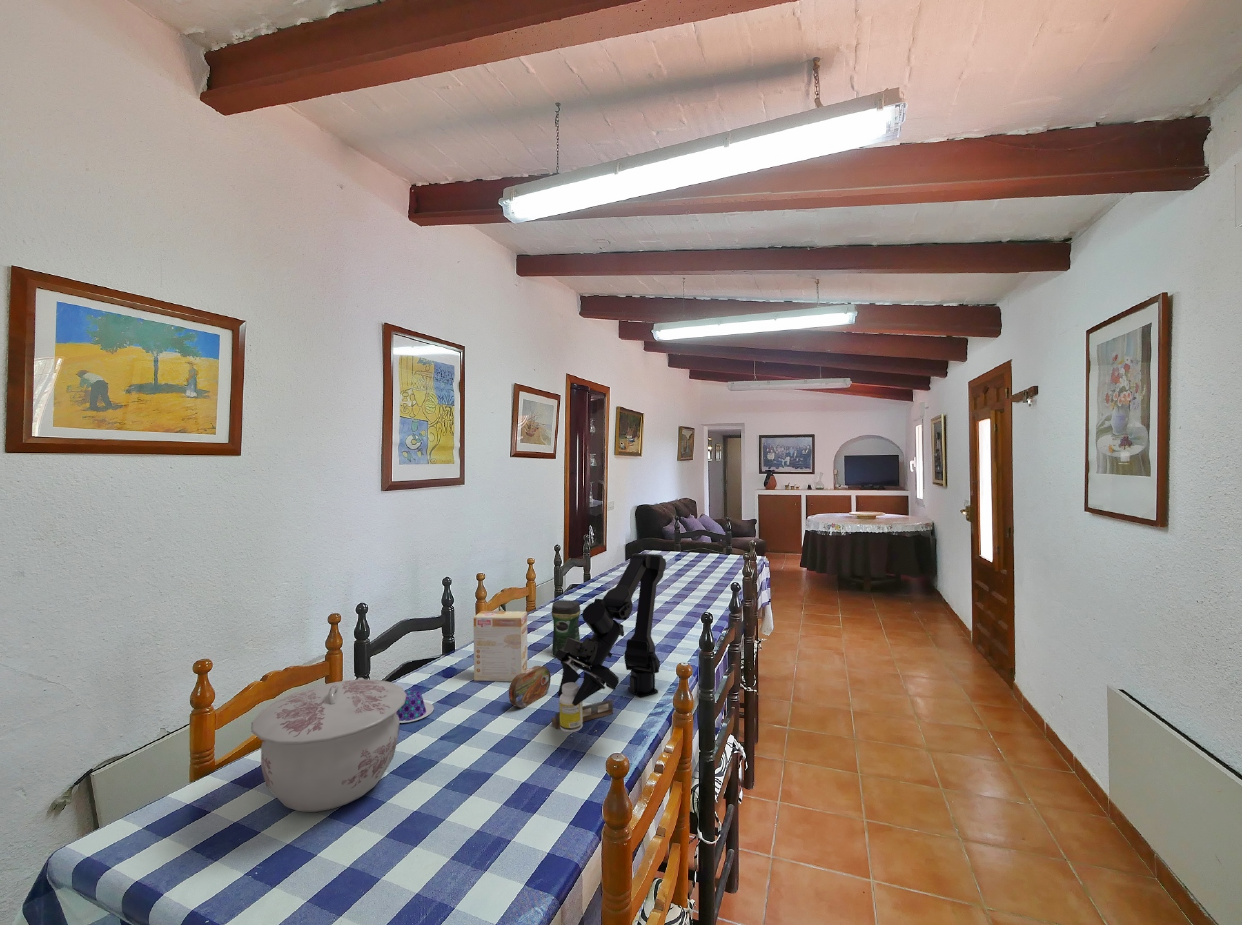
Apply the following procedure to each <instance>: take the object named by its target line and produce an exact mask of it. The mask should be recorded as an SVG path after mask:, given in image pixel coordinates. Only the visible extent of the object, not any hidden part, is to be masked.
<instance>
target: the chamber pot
mask: <svg viewBox="0 0 1242 925" xmlns="http://www.w3.org/2000/svg"><path fill="white" fill-rule="evenodd" d="M405 692H406V691H405V689H404V688H403V687H402V686H400V685H398V684H396V683H394V682H393V681H392V682H391V681H387V680H381V679H365V678H363V677H358V678H357V679H353V680H351V679H350V680H340V681H335V682H330V683H325V684H320V685H316V686H311V687H309V688H306V689H303V690H300V691H299V690H298V691H297V692H294V693H291V694H289V695H287V696H285V697H283V698H280V699H278V700H276V701H274V702H272V703H271V704H270V705H268V706H266V707H265V708H263V709H262V710H261V711H260V712H259V713H258V714H257V716H256V717H255V718H254V719H253V720H252V721H251V726H250V727H251V729H250V730H251V731H250V732H251V733H252V734H253V735H254V736H256V737H257V738H258V739H259V740H261V741H262V743H261V745H260V762H261V763H260V766H261V767H260V768H261V771H262V776H263V780H264V782H265V787H266V788H268V790H269V791H270V792H271V793H272V794H273V795H274V797H276V799H278V801H280V802H281V803H282V804H283V806H285V807H286V808H288V809H290V810H293V811H298V812H300V813H301V812H302V813H316V812H322V811H329V810H333V809H336V808H338V807H342V806H344V805H345V806H346V805H348V804H349V803H352V802H353V801H355V800H358V799H360V798H361V797H363V796H364V795H366V794H367V793H368V792H370V791H371V790H372V789H373V788H374V787H375V786H376V785H377V784H378V782H380V780H381V779H382V778H383V776H384V774H385V773H386V771H387V770H388V767H389V766H390V764H391V762H392V761H393V759H394V756H395V753H396V752H395V751H396V748H397V743H398V739H399V733H400V723H399V717H398V715H397V713H396V712H397V711H398V710H399V709H400V708H401V707H402V706H403V705H404V704H405V700H406V696H407V695H406V693H405Z"/></svg>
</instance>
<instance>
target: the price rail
mask: <svg viewBox="0 0 1242 925" xmlns="http://www.w3.org/2000/svg"><path fill="white" fill-rule="evenodd" d="M582 707H583V723H584V722H587V721H591V720H595V719H598V718H602V717H606V716H609V715H612V714H614V699H613V698H610V699H607V700H606V699H605V700H602V701H599V702H595V703H591V704H587V705H582ZM551 725H552V727H554V729H555V730H558V729H559V730H560V729H561V728H560V711H559V712H557V713H555V714H554V717H551Z"/></svg>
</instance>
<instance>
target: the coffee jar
mask: <svg viewBox="0 0 1242 925" xmlns="http://www.w3.org/2000/svg"><path fill="white" fill-rule="evenodd" d="M580 616H581V606H580V602H579V601H577V600H564V599H563V600H560V599H558V600H556V601H554V602H553V603H552V606H551V617H552V622H553V629H552V630H553V632H552V646H551V656H553V657H555V655H556V653H557V652H558V650H559V649H562V648H564V646H565V643H566V640H567V637H568V638H572V639H575V640H579V641H581V637H580V636H581V635H580V626H579V625H580V624H579V623H580V622H579V620H580V619H579V618H580ZM555 658H556V657H555Z"/></svg>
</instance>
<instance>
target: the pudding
mask: <svg viewBox="0 0 1242 925" xmlns="http://www.w3.org/2000/svg"><path fill="white" fill-rule="evenodd" d="M405 693H406V695H407V696H406V700H405V704H404V705H403V706H402V707H401V708H400V709H399V710H398V711H397V712H396V713H397V715H398V717H399V724H400V723H401V724H403V723H404V724H405V723H411V722H416V721H418V720H422V719H423V718H426V717H427V716H429V715H431V714H432V713H433V711H434V707H435V706H434V705H433V704H432V703H430V702H427V701H424V698H423V695H422V693H421V692H420V691H418V690H409V691H405Z"/></svg>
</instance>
